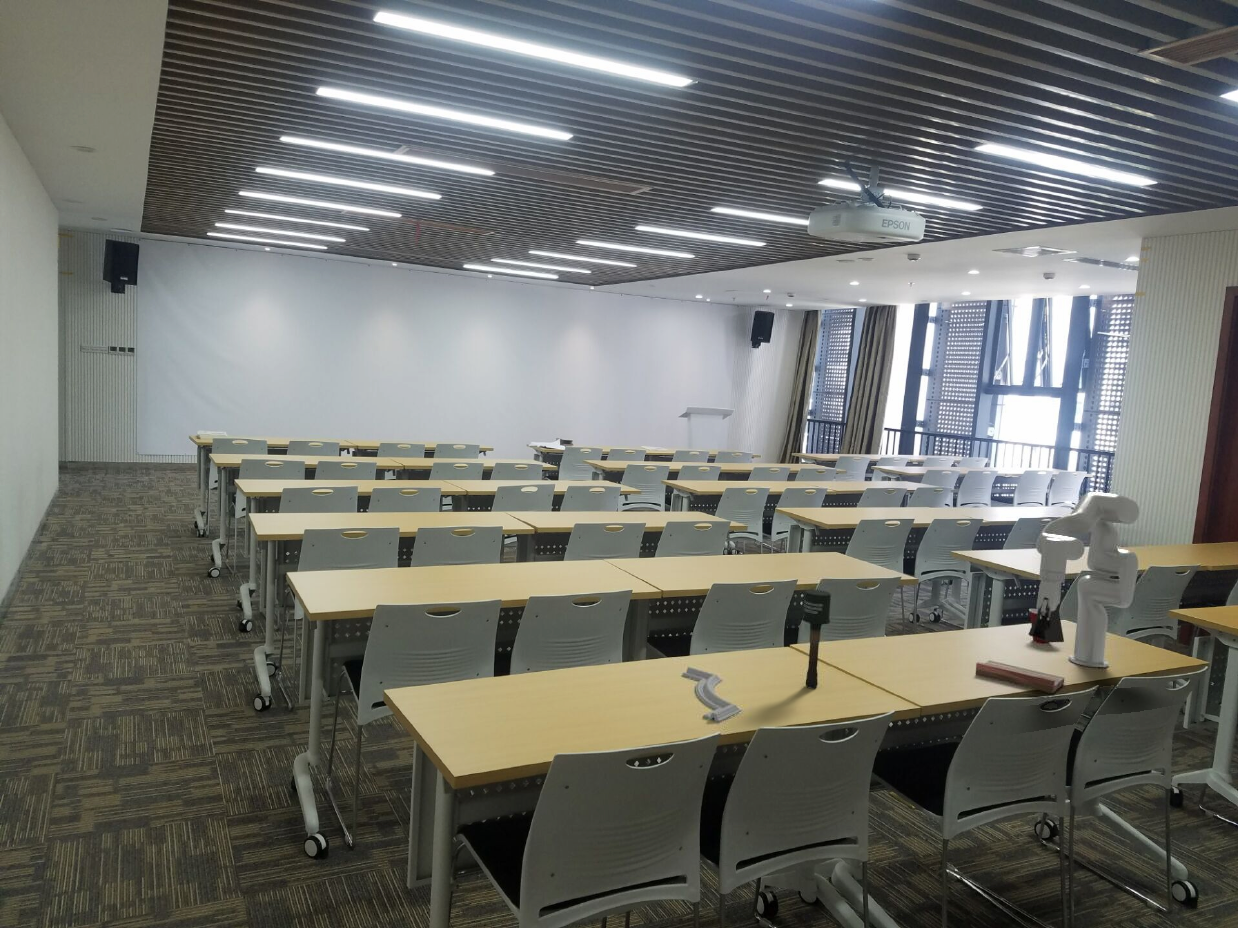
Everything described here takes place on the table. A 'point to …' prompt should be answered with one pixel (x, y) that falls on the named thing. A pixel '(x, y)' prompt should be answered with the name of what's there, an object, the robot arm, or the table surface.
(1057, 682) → the board
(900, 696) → the table surface
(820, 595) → the stick grenade
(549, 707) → the table surface
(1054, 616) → the door stopper
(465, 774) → the table surface
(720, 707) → the molding
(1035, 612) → the plastic cup
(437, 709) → the table surface
